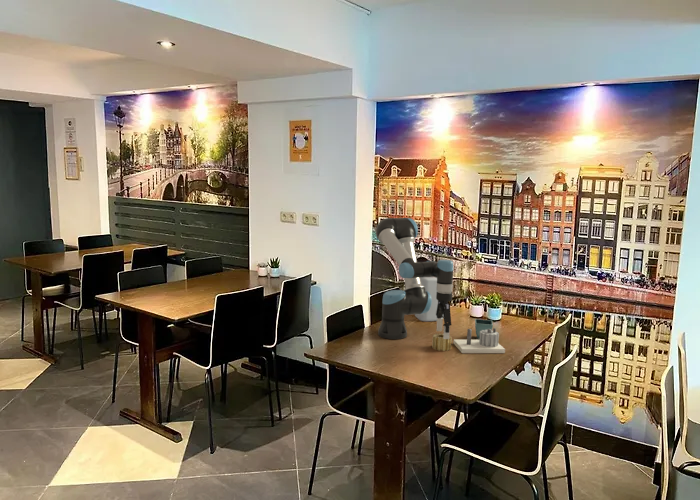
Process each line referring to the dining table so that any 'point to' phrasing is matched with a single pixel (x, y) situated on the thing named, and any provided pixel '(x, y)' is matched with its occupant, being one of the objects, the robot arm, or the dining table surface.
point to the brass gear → (441, 342)
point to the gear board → (480, 343)
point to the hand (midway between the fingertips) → (442, 334)
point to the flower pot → (482, 326)
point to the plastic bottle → (431, 287)
